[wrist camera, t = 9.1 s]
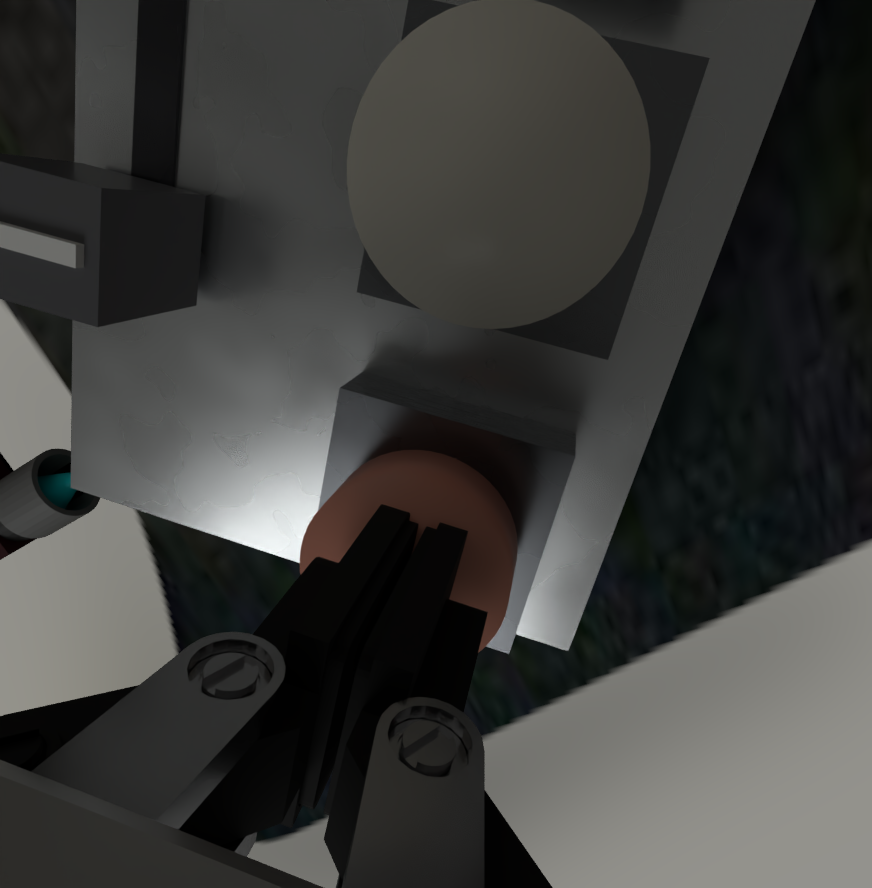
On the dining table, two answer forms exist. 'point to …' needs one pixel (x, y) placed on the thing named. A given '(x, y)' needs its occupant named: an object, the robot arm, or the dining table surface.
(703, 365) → the dining table surface
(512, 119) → the button cream
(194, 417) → the console
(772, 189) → the dining table surface
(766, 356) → the dining table surface
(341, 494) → the button terracotta
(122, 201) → the slider knob
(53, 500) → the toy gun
